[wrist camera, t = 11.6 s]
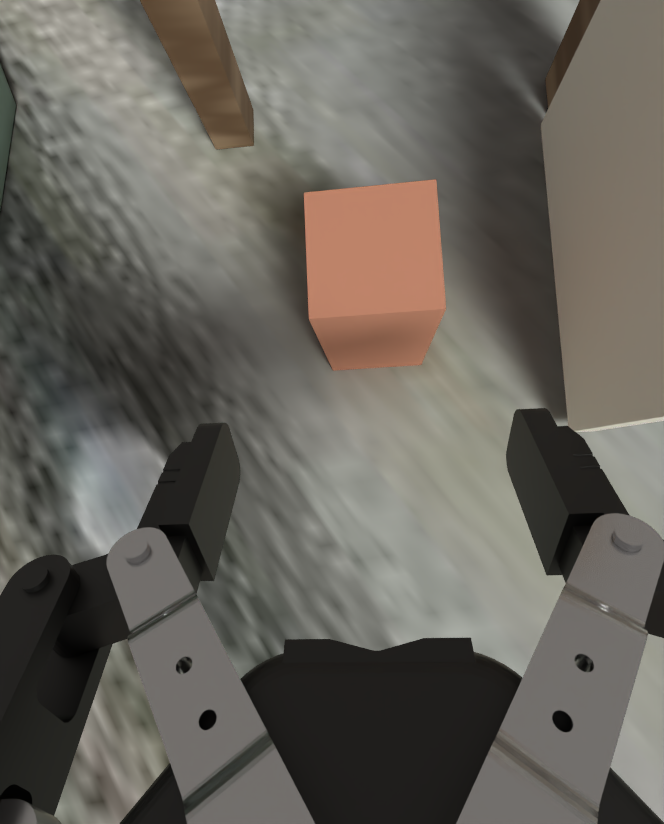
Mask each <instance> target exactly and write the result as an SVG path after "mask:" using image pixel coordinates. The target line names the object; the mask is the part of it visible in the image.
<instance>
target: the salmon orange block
mask: <svg viewBox="0 0 664 824" xmlns="http://www.w3.org/2000/svg"><path fill="white" fill-rule="evenodd" d="M304 210H305V235H306V260H307V285H308V310H309V320H310V323H311V325H312V327H313V329H314V331H315V333H316V335H317V337H318V340H319V342H320V344H321V346H322V348H323V350H324V352H325V354H326V357H327V359H328V361H329V363H330V365H331V367H332V369H333V370H348V369H364V368H379V367H395V366H411V365H421V364H422V361H423V359H424V357H425V355H426V352H427V350H428V348H429V346H430V344H431V341H432V339H433V337H434V335H435V332H436V330H437V328H438V326H439V323H440V321H441V319H442V317H443V315H444V312H445V310H446V302H445V288H444V275H443V262H442V249H441V236H440V222H439V209H438V196H437V183H436V179H435V180H425V181H415V182H405V183H395V184H385V185H375V186H365V187H355V188H345V189H335V190H325V191H315V192H305V193H304Z"/></svg>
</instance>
